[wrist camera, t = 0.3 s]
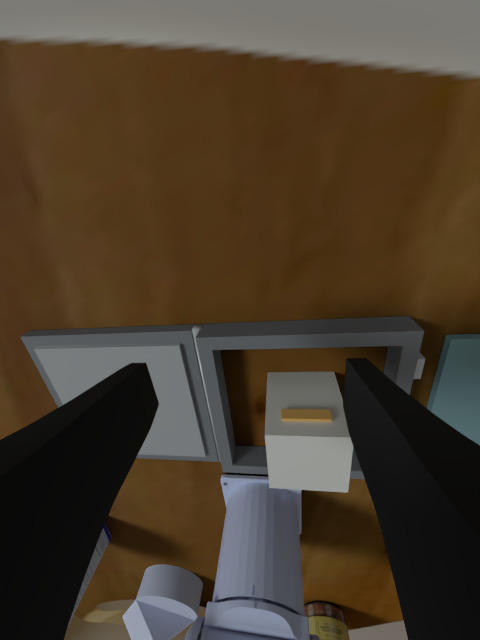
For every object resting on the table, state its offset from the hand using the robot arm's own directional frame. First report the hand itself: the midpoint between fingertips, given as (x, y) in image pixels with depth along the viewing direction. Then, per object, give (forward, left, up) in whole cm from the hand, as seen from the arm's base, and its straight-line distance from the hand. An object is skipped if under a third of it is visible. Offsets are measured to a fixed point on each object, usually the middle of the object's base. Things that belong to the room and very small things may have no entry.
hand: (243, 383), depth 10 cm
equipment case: (-9, +4, -9) cm, 14 cm away
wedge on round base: (-47, +17, -10) cm, 51 cm away
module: (-9, -3, -9) cm, 13 cm away
